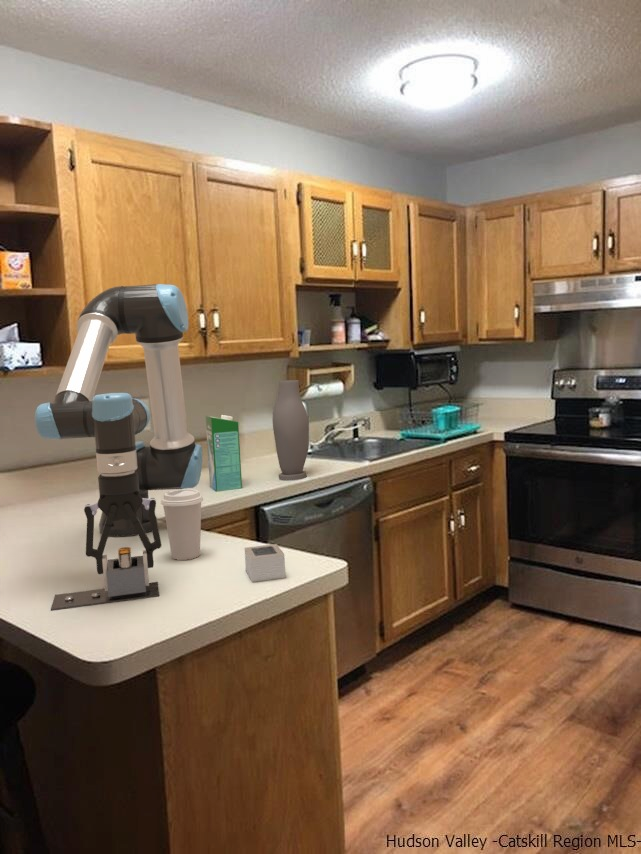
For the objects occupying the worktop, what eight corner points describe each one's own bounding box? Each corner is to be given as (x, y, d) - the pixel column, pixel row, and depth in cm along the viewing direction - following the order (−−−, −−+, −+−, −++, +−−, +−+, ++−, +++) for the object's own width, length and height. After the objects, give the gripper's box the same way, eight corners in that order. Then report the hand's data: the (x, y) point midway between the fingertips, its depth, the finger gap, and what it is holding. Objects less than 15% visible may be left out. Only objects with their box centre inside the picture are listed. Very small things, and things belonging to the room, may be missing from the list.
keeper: (55, 596, 140) (51, 551, 138) (157, 583, 145) (154, 540, 143) (50, 610, 132) (46, 563, 131) (159, 596, 137) (155, 551, 136)
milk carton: (242, 488, 237) (237, 415, 234) (216, 491, 234) (211, 417, 231) (235, 483, 245) (231, 412, 242) (210, 486, 242) (205, 415, 239)
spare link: (245, 570, 150) (244, 547, 150) (277, 566, 152) (276, 544, 151) (252, 582, 143) (250, 558, 142) (285, 577, 144) (284, 554, 144)
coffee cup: (188, 547, 169) (184, 486, 168) (215, 553, 163) (211, 490, 161) (156, 558, 162) (151, 494, 160) (183, 564, 156) (178, 499, 154)
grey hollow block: (109, 583, 142) (107, 559, 141) (145, 579, 144) (143, 555, 143) (108, 596, 134) (106, 571, 134) (145, 591, 136) (143, 567, 136)
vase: (297, 481, 243) (292, 381, 240) (266, 479, 250) (262, 381, 246) (317, 475, 254) (313, 379, 251) (287, 473, 261) (283, 379, 258)
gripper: (62, 480, 130) (73, 599, 133) (171, 471, 135) (179, 585, 138) (65, 474, 137) (76, 586, 140) (169, 465, 142) (176, 574, 145)
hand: (127, 586), depth 139 cm, fingers closed on grey hollow block, 7 cm apart
